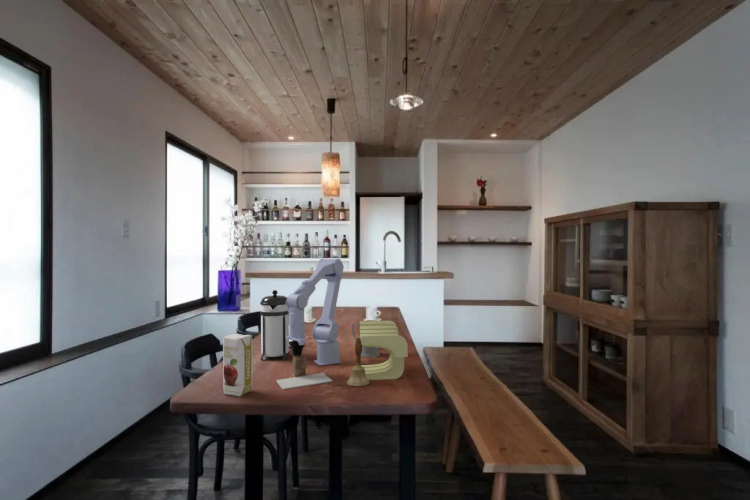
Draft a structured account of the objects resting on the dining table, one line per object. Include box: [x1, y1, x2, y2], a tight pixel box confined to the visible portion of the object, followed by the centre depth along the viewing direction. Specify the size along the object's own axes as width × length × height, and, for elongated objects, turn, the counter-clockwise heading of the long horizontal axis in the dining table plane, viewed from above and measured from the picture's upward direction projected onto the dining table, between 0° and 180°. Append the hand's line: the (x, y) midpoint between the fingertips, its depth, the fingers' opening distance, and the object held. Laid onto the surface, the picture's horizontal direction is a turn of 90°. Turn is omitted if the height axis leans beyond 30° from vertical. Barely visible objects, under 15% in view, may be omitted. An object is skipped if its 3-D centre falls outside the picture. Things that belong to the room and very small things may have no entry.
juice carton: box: [222, 333, 254, 397], centre depth 132 cm, size 8×9×19 cm
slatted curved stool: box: [359, 320, 409, 381], centre depth 151 cm, size 30×16×18 cm, turn 4°
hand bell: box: [346, 337, 371, 387], centre depth 141 cm, size 8×8×16 cm
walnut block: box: [291, 354, 307, 377], centre depth 149 cm, size 4×4×7 cm
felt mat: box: [275, 372, 333, 390], centre depth 143 cm, size 18×10×1 cm, turn 117°
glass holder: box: [351, 319, 381, 358], centre depth 181 cm, size 9×14×15 cm, turn 58°
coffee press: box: [259, 289, 290, 361], centre depth 178 cm, size 17×16×30 cm
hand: (297, 360), depth 152 cm, fingers closed
